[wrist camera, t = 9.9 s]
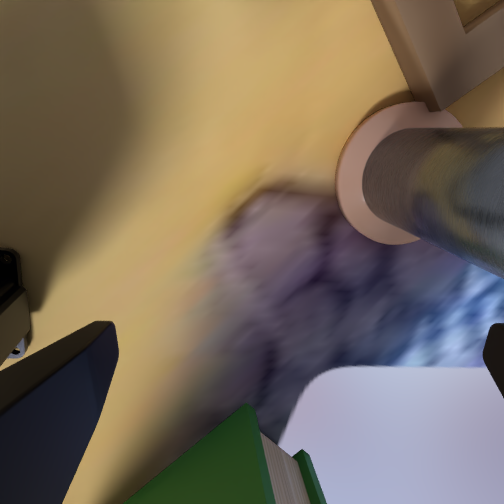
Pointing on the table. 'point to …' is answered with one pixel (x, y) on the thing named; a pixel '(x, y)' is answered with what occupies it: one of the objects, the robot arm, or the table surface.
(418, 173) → the tea tin
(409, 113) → the coaster
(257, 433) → the hardback book
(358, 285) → the table surface
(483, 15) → the pocket frame
